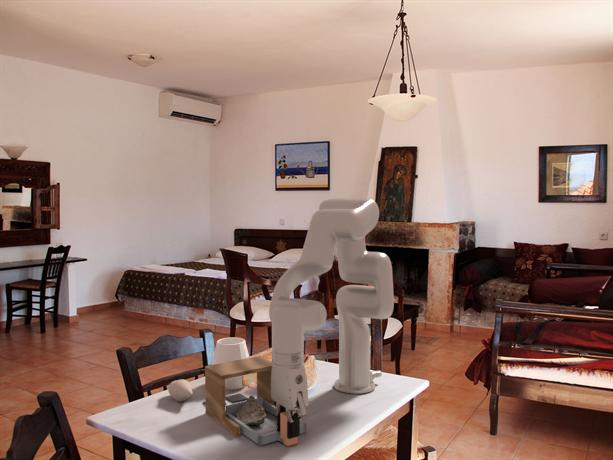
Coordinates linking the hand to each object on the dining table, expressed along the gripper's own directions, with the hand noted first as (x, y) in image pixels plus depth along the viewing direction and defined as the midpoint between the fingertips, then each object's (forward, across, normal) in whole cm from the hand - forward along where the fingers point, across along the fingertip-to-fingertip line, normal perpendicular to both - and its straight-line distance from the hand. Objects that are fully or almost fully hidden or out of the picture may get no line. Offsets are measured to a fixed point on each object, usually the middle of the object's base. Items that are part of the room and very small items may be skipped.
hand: (288, 432), depth 131 cm
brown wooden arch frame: (+2, +23, 0) cm, 23 cm away
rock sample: (+3, +15, +2) cm, 16 cm away
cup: (+3, +45, -8) cm, 46 cm away
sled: (+2, +10, 0) cm, 10 cm away
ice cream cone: (+3, +40, +10) cm, 41 cm away
